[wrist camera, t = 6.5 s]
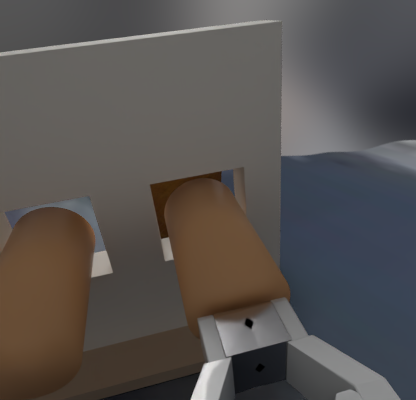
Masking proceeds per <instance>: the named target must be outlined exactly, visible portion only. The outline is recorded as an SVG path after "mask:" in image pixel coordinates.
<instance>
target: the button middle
mask: <svg viewBox="0 0 416 400" xmlns="http://www.w3.org/2000/svg"><path fill="white" fill-rule="evenodd" d="M94 249H95V235H94V232H93V229H92V227H91V226H90V224H89V223H88V222H87V221H86V220H85V219H84V218H83V217H82V216H80V215H79V214H77V213H75V212H73V211H70V210H67V209H64V208H58V207H45V208H40V209H36V210H33V211H31V212H29V213H27V214H25V215H24V216H22V217H21V218H20V219H19V220H18V222H17V223H16V224H15V226H14V228H13V230H12V232H11V234H10V236H9V238H8V240H7V242H6V244H5V246H4V248H3V250H2V252H1V254H0V400H26V399H33V398H37V397H41V396H44V395H48V394H50V393H53V392H55V391H57V390H59V389H60V388H62V387H64V386H65V385H67V384H68V383H69V382H70V381H71V380H72V379H73V378H74V377H75V376H76V374H77V373H78V371H79V369H80V367H81V364H82V356H83V347H84V338H85V329H86V320H87V311H88V302H89V293H90V284H91V275H92V266H93V257H94Z"/></svg>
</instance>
